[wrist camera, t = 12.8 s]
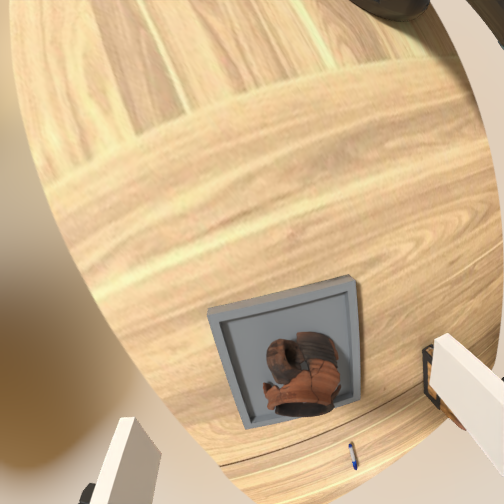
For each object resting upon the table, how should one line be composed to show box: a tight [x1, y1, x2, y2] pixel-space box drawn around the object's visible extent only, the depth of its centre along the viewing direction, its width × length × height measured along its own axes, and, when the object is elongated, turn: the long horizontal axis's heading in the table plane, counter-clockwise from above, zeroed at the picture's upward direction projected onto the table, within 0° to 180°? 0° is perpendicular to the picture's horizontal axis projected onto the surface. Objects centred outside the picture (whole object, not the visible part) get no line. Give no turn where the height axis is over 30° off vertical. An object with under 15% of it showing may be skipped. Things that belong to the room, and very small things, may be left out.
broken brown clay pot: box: [262, 332, 341, 417], centre depth 31 cm, size 12×10×8 cm
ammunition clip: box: [422, 344, 466, 431], centre depth 32 cm, size 11×2×12 cm, turn 22°
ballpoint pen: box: [349, 444, 357, 470], centre depth 40 cm, size 10×1×1 cm, turn 22°
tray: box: [207, 274, 360, 429], centre depth 33 cm, size 16×18×2 cm
